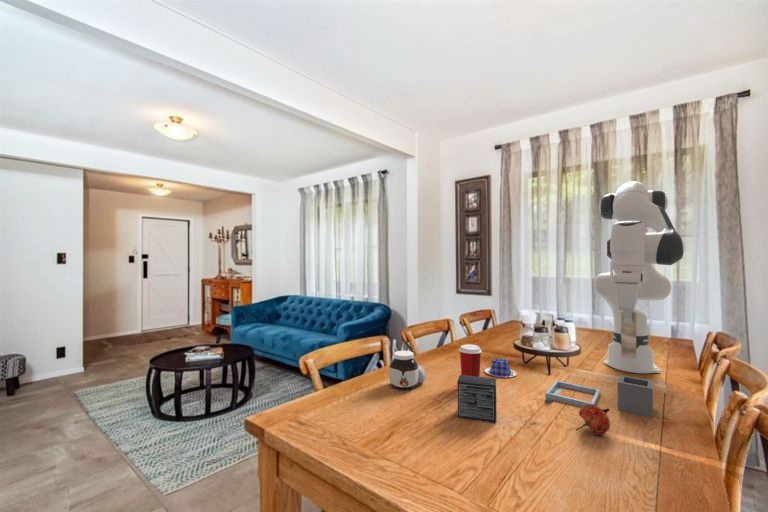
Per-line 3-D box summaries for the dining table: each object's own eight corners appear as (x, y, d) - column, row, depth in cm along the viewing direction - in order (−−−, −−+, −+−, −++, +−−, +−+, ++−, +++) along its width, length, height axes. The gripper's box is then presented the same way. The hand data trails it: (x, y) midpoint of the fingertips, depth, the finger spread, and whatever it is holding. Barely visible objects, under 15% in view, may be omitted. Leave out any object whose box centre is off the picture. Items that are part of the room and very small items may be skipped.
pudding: (518, 371, 136) (518, 358, 136) (515, 381, 125) (514, 367, 125) (487, 367, 141) (487, 354, 141) (481, 376, 131) (481, 362, 131)
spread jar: (386, 388, 118) (386, 354, 118) (397, 377, 128) (397, 346, 128) (420, 393, 113) (419, 358, 113) (428, 381, 124) (428, 349, 124)
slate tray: (556, 387, 118) (556, 380, 118) (600, 397, 110) (600, 389, 110) (545, 400, 107) (545, 393, 107) (593, 412, 99) (593, 404, 99)
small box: (496, 413, 99) (496, 377, 99) (496, 424, 92) (496, 385, 92) (459, 408, 102) (459, 373, 102) (457, 418, 96) (457, 380, 96)
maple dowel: (621, 354, 103) (621, 311, 103) (636, 356, 100) (636, 312, 100) (620, 356, 100) (620, 312, 100) (636, 359, 98) (635, 313, 98)
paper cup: (479, 383, 122) (479, 344, 122) (483, 391, 115) (483, 350, 115) (457, 382, 123) (457, 343, 123) (460, 390, 115) (460, 349, 116)
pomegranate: (587, 448, 85) (624, 429, 82) (566, 420, 87) (602, 400, 84) (583, 437, 91) (617, 419, 89) (564, 411, 94) (597, 393, 91)
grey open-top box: (620, 404, 105) (620, 374, 105) (653, 411, 100) (653, 380, 100) (617, 413, 99) (617, 382, 99) (653, 421, 94) (652, 388, 94)
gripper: (618, 273, 110) (618, 316, 110) (611, 276, 94) (612, 326, 94) (642, 274, 106) (642, 318, 106) (640, 277, 90) (640, 329, 90)
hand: (628, 322), depth 100 cm, fingers closed on maple dowel, 4 cm apart
